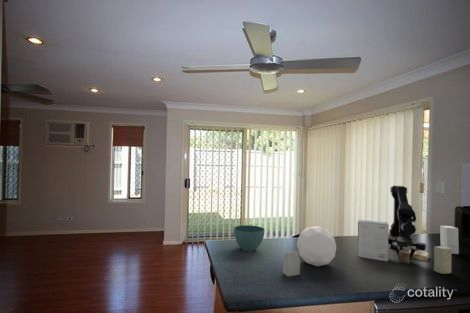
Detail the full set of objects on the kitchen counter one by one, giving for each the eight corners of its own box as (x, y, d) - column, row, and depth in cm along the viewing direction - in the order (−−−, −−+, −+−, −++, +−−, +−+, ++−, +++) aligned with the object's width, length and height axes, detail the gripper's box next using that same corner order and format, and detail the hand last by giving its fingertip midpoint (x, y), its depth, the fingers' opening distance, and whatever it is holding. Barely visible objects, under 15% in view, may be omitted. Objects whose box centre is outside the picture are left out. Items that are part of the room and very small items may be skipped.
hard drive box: (387, 257, 157) (388, 222, 158) (388, 262, 150) (389, 224, 151) (357, 253, 164) (358, 219, 165) (357, 256, 157) (357, 221, 158)
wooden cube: (398, 261, 152) (398, 251, 152) (400, 259, 156) (400, 250, 156) (409, 263, 149) (409, 254, 149) (411, 261, 153) (411, 252, 153)
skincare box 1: (459, 254, 168) (459, 228, 169) (446, 253, 170) (446, 227, 170) (451, 250, 176) (451, 225, 177) (439, 249, 178) (439, 224, 178)
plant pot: (228, 251, 159) (228, 229, 159) (239, 243, 176) (240, 223, 176) (258, 256, 152) (259, 233, 153) (267, 247, 169) (268, 227, 169)
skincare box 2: (442, 274, 135) (442, 248, 135) (433, 270, 139) (433, 246, 140) (451, 273, 137) (452, 248, 137) (442, 269, 141) (443, 245, 141)
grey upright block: (299, 274, 129) (300, 252, 129) (287, 276, 126) (288, 254, 126) (294, 271, 132) (295, 250, 132) (282, 273, 129) (283, 251, 130)
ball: (304, 276, 144) (284, 240, 152) (333, 258, 151) (312, 225, 159) (321, 270, 128) (297, 230, 136) (352, 251, 135) (327, 214, 143)
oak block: (407, 257, 160) (407, 252, 160) (410, 254, 166) (410, 249, 167) (426, 261, 154) (426, 256, 154) (428, 258, 160) (428, 253, 161)
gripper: (382, 229, 153) (382, 258, 153) (423, 236, 141) (422, 267, 140) (387, 226, 161) (387, 254, 161) (426, 232, 149) (426, 262, 148)
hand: (404, 259), depth 152 cm, fingers closed on wooden cube, 5 cm apart
